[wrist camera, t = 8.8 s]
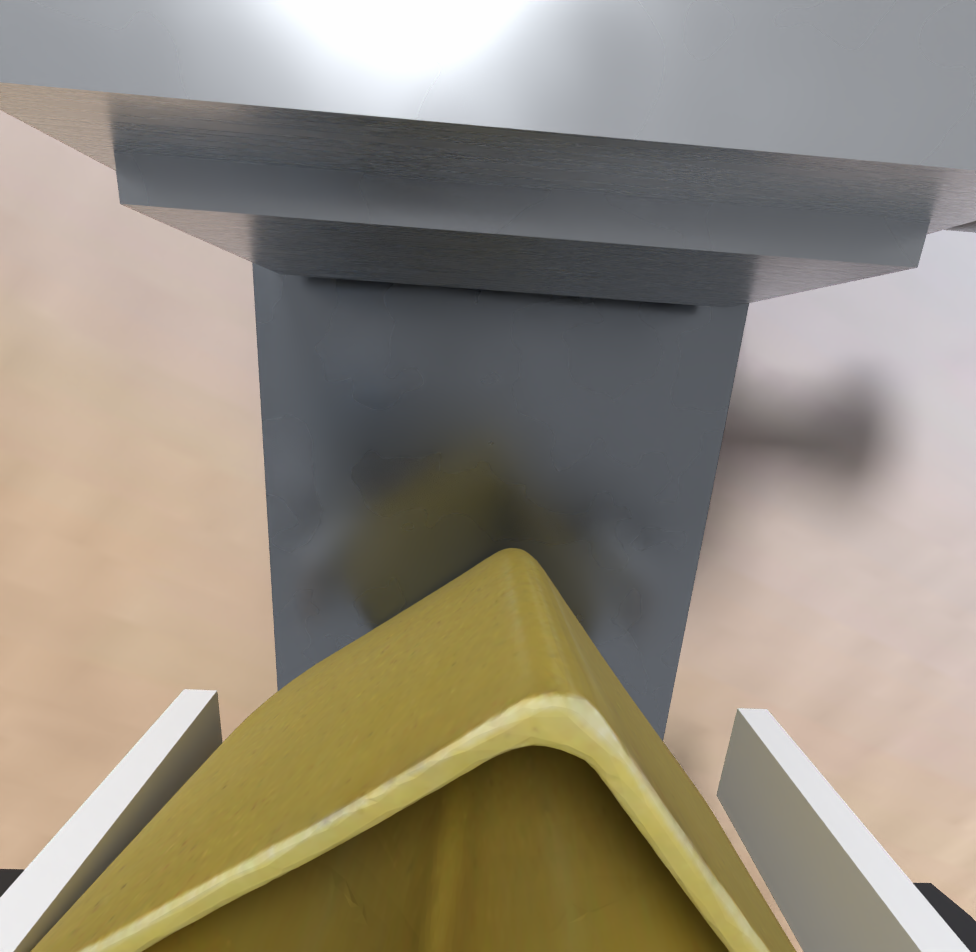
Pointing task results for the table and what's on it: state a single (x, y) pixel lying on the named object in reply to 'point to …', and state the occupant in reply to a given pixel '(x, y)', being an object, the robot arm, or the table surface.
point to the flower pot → (437, 807)
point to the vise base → (488, 456)
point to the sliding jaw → (523, 135)
